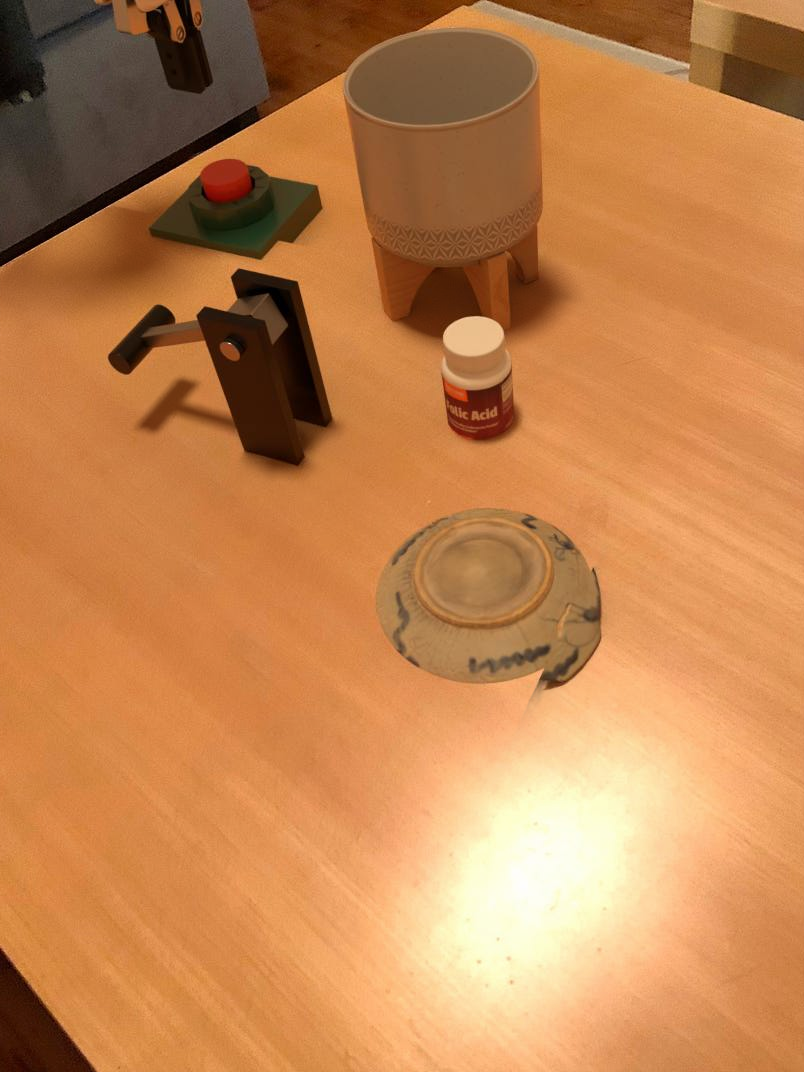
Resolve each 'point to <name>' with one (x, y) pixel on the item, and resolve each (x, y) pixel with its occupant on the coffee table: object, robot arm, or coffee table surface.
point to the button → (226, 180)
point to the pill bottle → (477, 378)
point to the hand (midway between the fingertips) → (191, 85)
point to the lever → (185, 330)
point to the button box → (241, 216)
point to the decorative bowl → (490, 599)
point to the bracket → (267, 369)
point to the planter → (448, 160)
